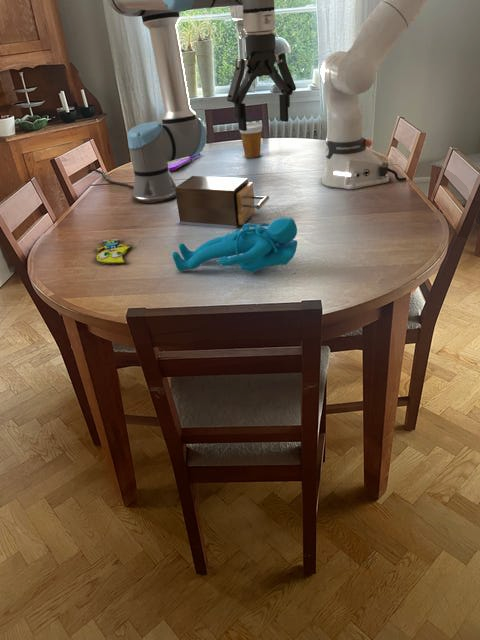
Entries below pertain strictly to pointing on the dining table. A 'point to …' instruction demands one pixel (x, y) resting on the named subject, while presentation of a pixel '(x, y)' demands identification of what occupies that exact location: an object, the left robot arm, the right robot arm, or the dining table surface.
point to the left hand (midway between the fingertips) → (263, 125)
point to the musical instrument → (181, 162)
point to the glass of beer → (251, 140)
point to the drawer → (247, 202)
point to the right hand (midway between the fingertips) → (245, 38)
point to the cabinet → (209, 201)
